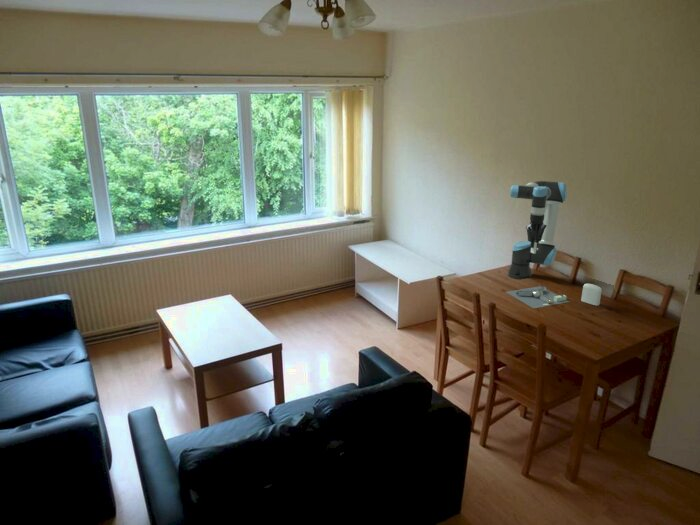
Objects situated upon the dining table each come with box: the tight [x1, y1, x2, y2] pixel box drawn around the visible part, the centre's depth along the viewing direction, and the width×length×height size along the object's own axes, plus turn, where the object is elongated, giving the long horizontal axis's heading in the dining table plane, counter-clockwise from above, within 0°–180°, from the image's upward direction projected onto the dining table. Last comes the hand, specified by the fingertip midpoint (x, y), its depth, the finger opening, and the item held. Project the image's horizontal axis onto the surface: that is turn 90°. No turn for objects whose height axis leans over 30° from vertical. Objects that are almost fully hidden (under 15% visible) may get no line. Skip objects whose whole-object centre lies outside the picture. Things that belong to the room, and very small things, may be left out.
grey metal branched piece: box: [516, 286, 552, 303], centre depth 300 cm, size 22×19×3 cm
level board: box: [505, 285, 571, 309], centre depth 299 cm, size 26×26×5 cm
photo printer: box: [580, 283, 603, 306], centre depth 289 cm, size 10×4×12 cm, turn 39°
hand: (533, 252), depth 294 cm, fingers closed
